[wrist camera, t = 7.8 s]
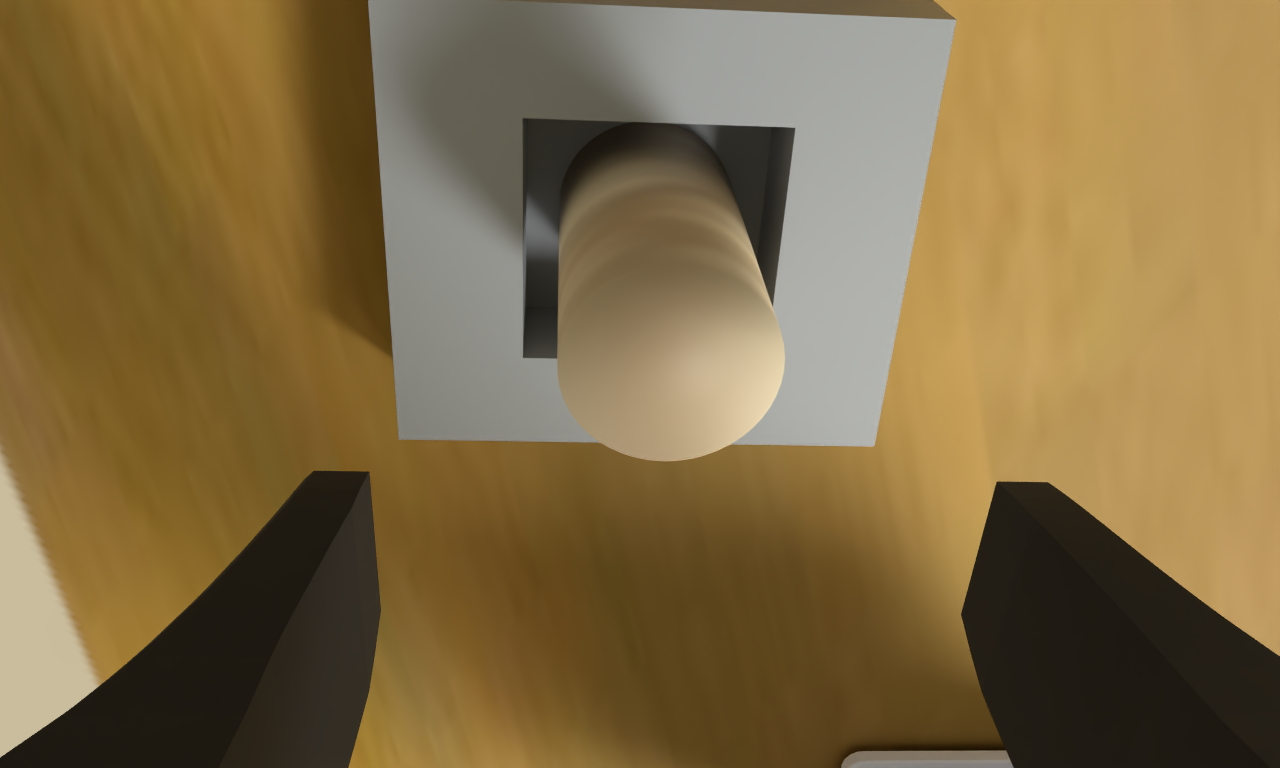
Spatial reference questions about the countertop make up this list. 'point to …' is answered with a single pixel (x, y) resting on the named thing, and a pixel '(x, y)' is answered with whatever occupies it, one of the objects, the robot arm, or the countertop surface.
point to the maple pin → (661, 298)
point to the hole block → (654, 93)
